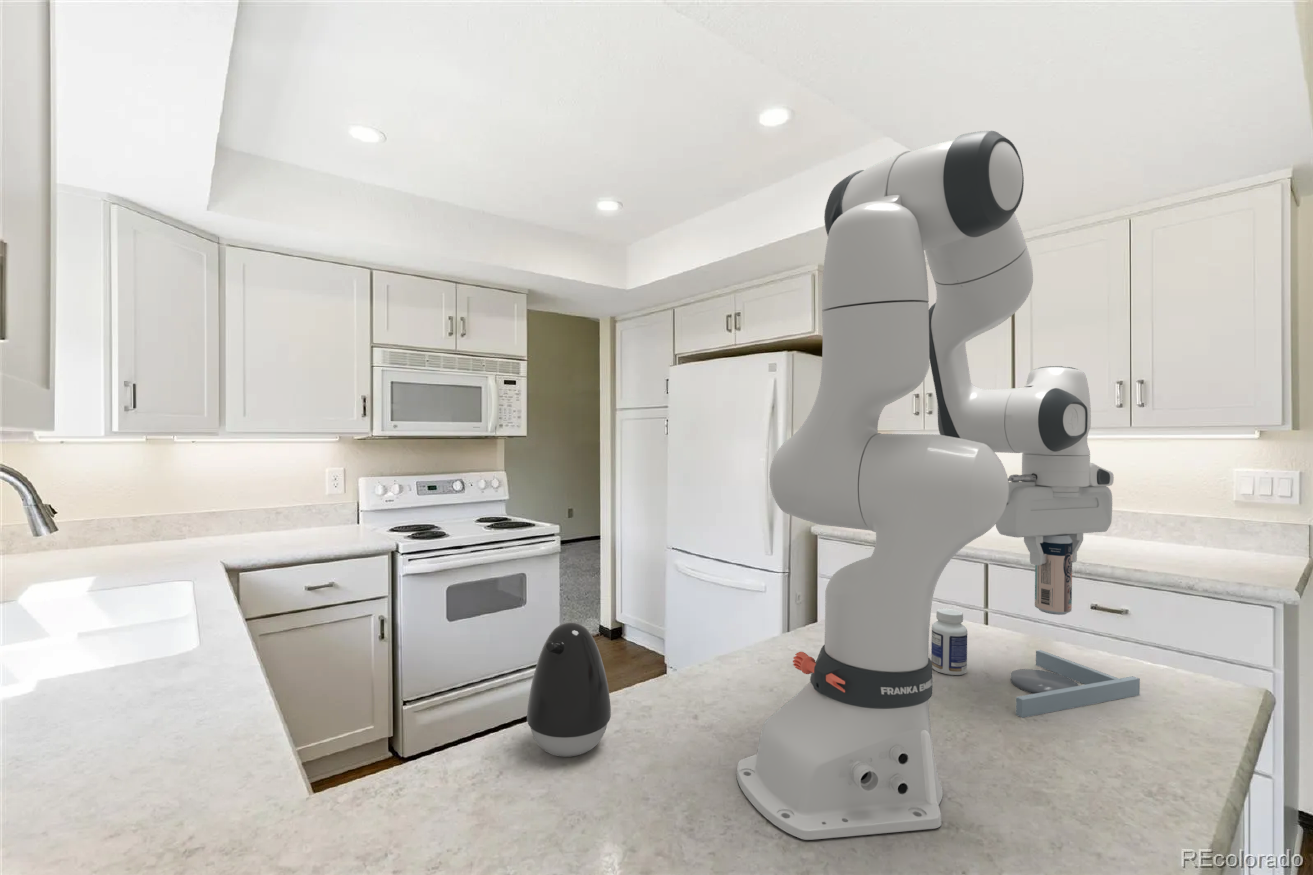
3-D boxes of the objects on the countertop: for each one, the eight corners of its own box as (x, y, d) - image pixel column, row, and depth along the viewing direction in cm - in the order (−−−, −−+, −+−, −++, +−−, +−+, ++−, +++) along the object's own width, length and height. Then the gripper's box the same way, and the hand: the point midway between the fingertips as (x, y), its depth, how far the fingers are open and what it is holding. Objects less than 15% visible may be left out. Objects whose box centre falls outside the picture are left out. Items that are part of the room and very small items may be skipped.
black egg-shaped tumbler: (509, 759, 74) (510, 630, 73) (553, 721, 83) (554, 607, 83) (586, 776, 70) (588, 642, 70) (623, 734, 80) (624, 616, 80)
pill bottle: (968, 668, 104) (969, 610, 104) (964, 678, 100) (965, 618, 100) (933, 661, 107) (934, 605, 107) (928, 671, 103) (929, 612, 103)
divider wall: (1022, 717, 86) (1022, 699, 86) (943, 679, 99) (944, 663, 99) (1139, 695, 94) (1139, 678, 94) (1052, 662, 107) (1052, 648, 107)
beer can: (1077, 617, 93) (1078, 537, 93) (1041, 614, 94) (1042, 535, 94) (1063, 607, 98) (1064, 531, 98) (1030, 605, 99) (1031, 530, 99)
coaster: (1049, 702, 91) (1049, 695, 91) (997, 678, 100) (997, 672, 100) (1092, 694, 94) (1093, 687, 94) (1038, 672, 103) (1038, 666, 103)
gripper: (1022, 476, 89) (1020, 572, 90) (1121, 473, 96) (1120, 563, 96) (985, 473, 95) (984, 563, 95) (1082, 471, 102) (1080, 555, 102)
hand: (1053, 563), depth 96 cm, fingers closed on beer can, 5 cm apart
